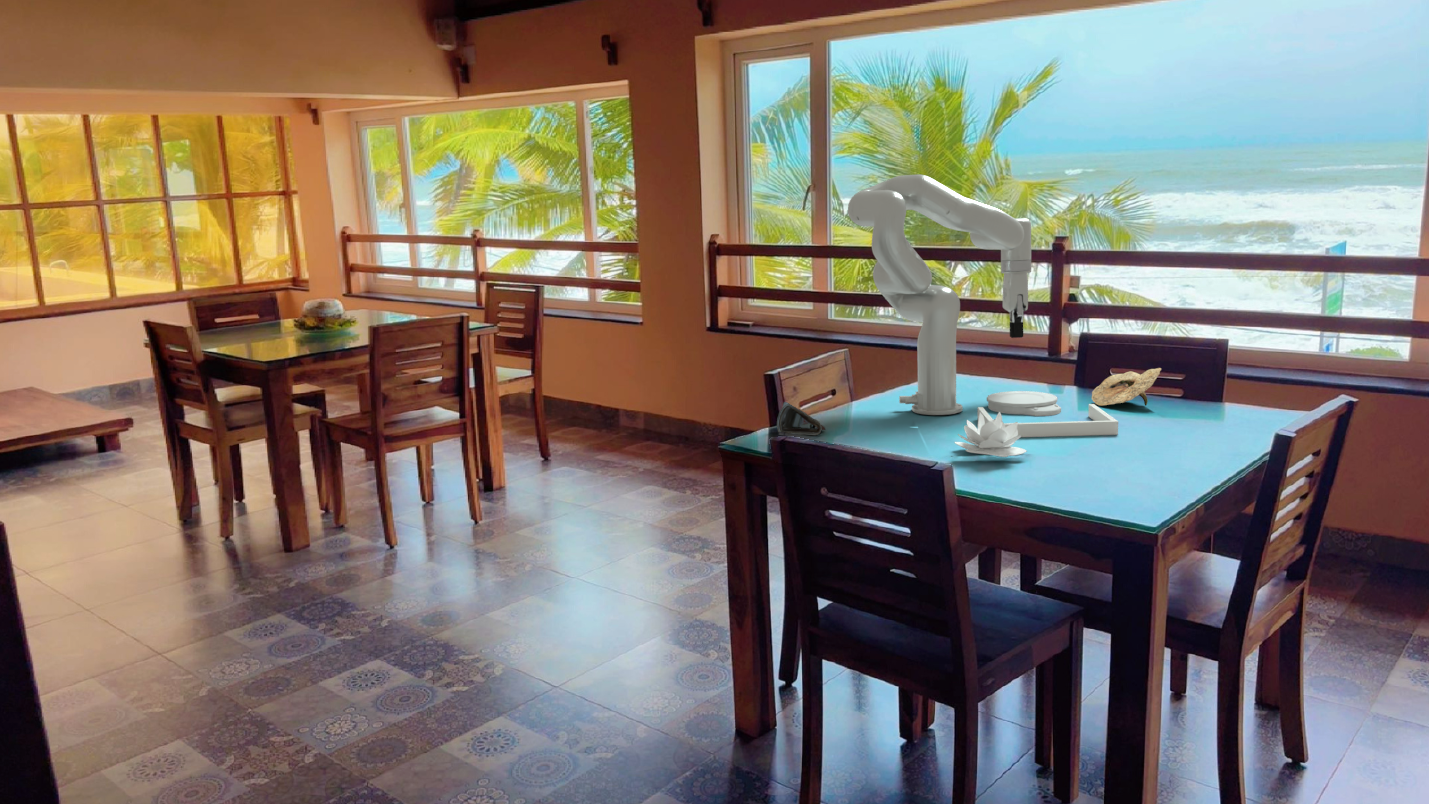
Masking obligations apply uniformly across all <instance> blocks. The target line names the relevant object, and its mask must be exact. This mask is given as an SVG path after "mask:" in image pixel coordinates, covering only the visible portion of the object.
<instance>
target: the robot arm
mask: <svg viewBox="0 0 1429 804" xmlns="http://www.w3.org/2000/svg"><path fill="white" fill-rule="evenodd" d="M907 211H915V212H917V213H919V214H921V215H923V216H925V217H926V218H928V219H930V220H932V221H933V222H935V223H937V224H939V225H940V226H942V227H944V228H947V229H950V230H954V231H957V232H958V231H959V232H966V233H969V237H970V241H971V243H972V244H973V245H974V246H975V247H976V248H978V249H981V250H993V251H994V250H999V251H1000V274H1003V282H1002V283H1003V284H1002V308H1003V309H1004V311H1007V312H1008V313H1009V337H1010V338H1011V339H1017V338H1018V339H1019V338H1023V337H1024V312H1026V311H1028V308H1029V284H1028V283H1029V282H1028V281H1029V280H1028V279H1029V278H1028V273H1032V222H1031V221H1030V219H1029V218H1024V217H1018V218H1016V217H1013V216H1011V215H1009V214H1008V213H1006V212H1005V211H1003V210H1000V209H998V208H996V207H994V206H991V205H989V204H985V203H983V202H980V201H977V200H974V199H971V198H969V197H965V196H963V195H961V194H960V193H958V192H956V191H954V190H952V189H951V188H949V187H947V186H946V185H944V184H942V183H940V182H939V181H937V180H935V179H934V178H932V177H930V176H928V175H926V174H925V175H924V174H920V173H919V174H905V175H904V174H903V175H897V176H894V177H892V178H889V179H887V180H883V181H881V182H879V183H877V184H874V185H872V186H869V187H867V188H863V189H862V190H860V191H858V192H856V193H855V194H853V196H852V197H851V198H850V199H849V202H848V206H847V213H848V217H849V219H850V220H851V222H853V223H854V224H856V225H858V226H860V227H873V228H872V234H871V236H872V237H871V252H872V254H873V256H874V258H875V259H876V263H875V264H874V267H873V272H872V276H873V277H872V278H873V282H874V285H875V287H876V289H877V290H878V292H879V293H880V294H881V295H882V296H883V298H884V299H885V300H886V301H887V302H888V303H889V305H890V306H891V307H892V308H893V309H894V310H895V311H896V312H897V313H898V315H899V316H901V317H902V318H903V319H905V320H908V321H909V322H915V323H922V325H921V328H920V330H919V333H918V336H917V343H916V346H917V348H916V350H917V391H915V394H911V395H899V398H898V399H899V401H898V402H899V404H905V405H910V404H912V406H911V411H912V412H913V413H915V414H920V415H924V416H925V415H928V416H947V415H955V414H959V413H961V412H962V411H963V404H960V403H958V402H957V331H958V330H957V329H958V322H959V317H960V311H961V301H960V297H959V296H958V294H957V293H956V291H954V290H953V288H950V287H947V286H944V285H937V284H932V282H933V281H932V280H933V275H932V272H931V270H930V268H929V267H930V266H928V265H927V263H926V262H925V261H924V259H923V258H922V257H921V256H920V255H919V254H918V252H917V251H916V250H915V249H914V247H913V246H912V245H911V243H910V242H909V241H908V240H907V237H906V235H905V221H906V215H907Z"/></svg>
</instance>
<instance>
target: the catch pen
mask: <svg viewBox="0 0 1429 804" xmlns="http://www.w3.org/2000/svg"><path fill="white" fill-rule="evenodd" d="M980 412H981V413H982V415H983V416H984V420H985V424H986V423H987V422H989V421H992V420H994V419H993V418H992V416H991V415H990V414H989V412H988V411H987V410H986V409H985V408H984V407H983V406H978V407H977V419H978V418H979V413H980ZM1088 418H1090V419H1091V420H1085V421H1084V420H1080V421H1078V420H1075V421H1049V422H1048V421H1047V422H1046V421H1044V422H1043V421H1042V422H1040V421H1039V422H1018V425H1017V430H1018V435H1021V437H1020V438H1037V437H1039V438H1040V437H1041V438H1042V437H1043V438H1044V437H1046V438H1047V437H1079V436H1081V437H1083V436H1114V435H1115V436H1118V435H1119V420H1117V419H1115V417H1113V416H1112V415H1110V414H1108V413H1107V412H1106V411H1104V410H1103V409H1102V408H1100V407H1099V406H1097V404H1095V403H1088ZM1003 423H1004V424H1005V428H1006V427H1007V426H1009V425H1010V424H1012V423H1013V422H1007V423H1005V422H1003ZM1018 435H1017V436H1018Z"/></svg>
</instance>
